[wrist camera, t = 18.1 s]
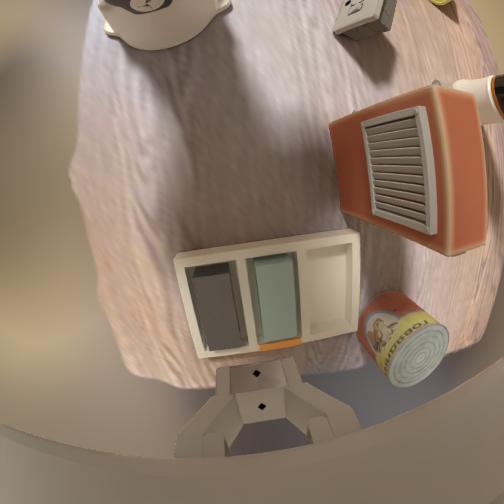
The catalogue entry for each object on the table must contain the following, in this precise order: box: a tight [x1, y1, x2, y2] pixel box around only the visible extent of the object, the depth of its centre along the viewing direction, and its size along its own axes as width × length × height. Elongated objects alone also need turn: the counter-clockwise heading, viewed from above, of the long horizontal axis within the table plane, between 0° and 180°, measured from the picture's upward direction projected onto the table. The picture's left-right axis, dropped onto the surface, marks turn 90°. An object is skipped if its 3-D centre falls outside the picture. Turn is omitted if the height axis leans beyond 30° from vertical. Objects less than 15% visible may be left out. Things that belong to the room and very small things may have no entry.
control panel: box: [329, 79, 487, 257], centre depth 25 cm, size 21×7×15 cm
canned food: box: [356, 290, 449, 388], centre depth 37 cm, size 11×11×12 cm
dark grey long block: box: [192, 262, 242, 351], centre depth 36 cm, size 11×4×4 cm, turn 7°
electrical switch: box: [333, 0, 397, 41], centre depth 24 cm, size 9×5×9 cm, turn 160°
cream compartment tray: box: [173, 228, 360, 358], centre depth 37 cm, size 16×24×3 cm, turn 97°
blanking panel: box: [253, 253, 297, 342], centre depth 36 cm, size 11×4×4 cm, turn 7°
